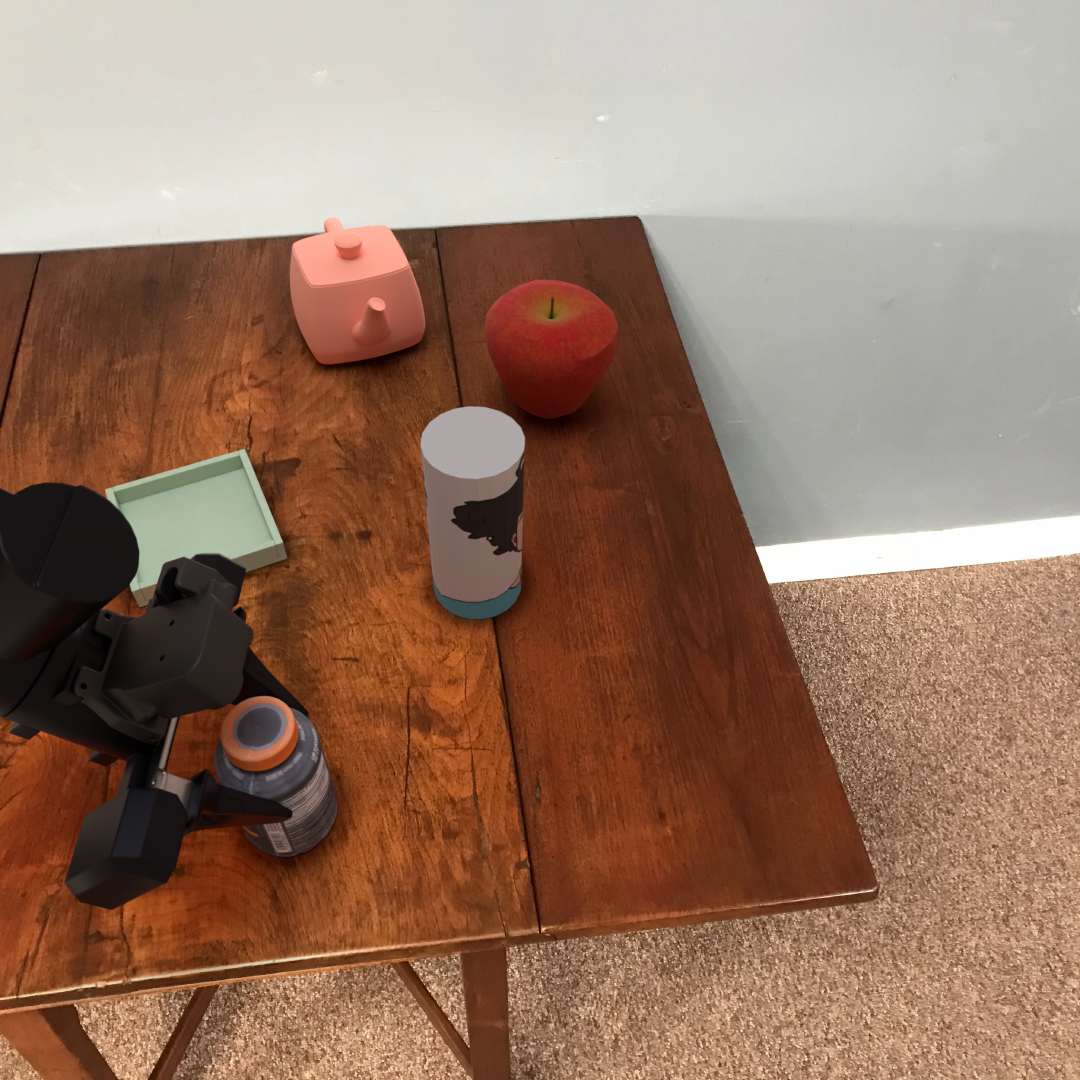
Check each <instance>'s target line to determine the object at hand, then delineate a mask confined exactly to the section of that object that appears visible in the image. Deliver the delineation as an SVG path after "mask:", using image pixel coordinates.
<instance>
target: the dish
mask: <svg viewBox="0 0 1080 1080" xmlns="http://www.w3.org/2000/svg"><path fill="white" fill-rule="evenodd" d="M104 493H105V496H106V497H105V498H107V499H108V500H110V501H111V502H112V503H113V504H114V505H115V506H116V507H117V508H118V509H119V510H120V511H121V512H122V513H123V515H124V516H125V518H126V519H127V520H128V522H129V523H130V524H131V527H132V529H133V531H134V533H135V535H136V538H137V542H138V547H139V552H140V553H139V567H138V570H137V573H136V576H135V577H134V579H133V580H132V582H131V583H130V585H129V587H130V592H131V593H132V595H133V597H134V599H135V601H136V603H137V605H138V607H139V608H143V607H145V606H146V607H147V605H148V602H149V599H152V598H153V595H154V592H155V588H156V585H157V582H158V579H159V575H160V572H161V569H162V566H163V564H164V563H165V562H168V561H171V560H175V559H178V558H181V557H186V558H189V559H191V558H192V557H193V556H194V555H196V554H201V553H220V554H222V555H223V556H225V557H227V558H229V559H231V560H233V561H235V562H237V563H239V564H241V565H243V566H244V567H245V568H246V572H245V573H248V572H251V571H254V570H258V569H261V568H263V567H266V566H268V565H269V566H270V565H272V564H276V563H279V562H282V561H285V560H287V559H288V556H287V551H286V547H285V544H284V541H283V539H282V536H281V534H280V531H279V529H278V526H277V524H276V522H275V519H274V517H273V514H272V511H271V509H270V507H269V505H268V502H267V500H266V497H265V495H264V492H263V490H262V487H261V485H260V482H259V480H258V478H257V475H256V472H255V470H254V467H253V465H252V463H251V461H250V457H249V455H248V453H247V451H246V448H243V449H239V450H236V451H232V452H229V453H225V454H222V455H217V456H215V457H211V458H208V459H204V460H201V461H198V462H194V463H191V464H188V465H184V466H181V467H177V468H174V469H170V470H167V471H163V472H159V473H156V474H154V475H149V476H146V477H141V478H139V479H136V480H135V479H134V480H132V481H129V482H125V483H121V484H119V485H115V486H112V487H109V488H105V489H104Z"/></svg>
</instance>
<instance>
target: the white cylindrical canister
mask: <svg viewBox="0 0 1080 1080" xmlns="http://www.w3.org/2000/svg"><path fill="white" fill-rule="evenodd" d="M525 449H526V437H525V435H524V432H523V430H522V427H521V426H520V425H519V424H518V422H516V421H515V419H513V417H511V416H510V415H508V414H505V413H504V412H502V411H501V410H496V409H494V408H489V407H486V406H470V405H469V406H468V405H467V406H464V407H463V406H462V407H457V408H453V409H450V410H448V411H445V412H443V413H441V414H439V415H438V416H436V417H435V418H434V419H432V420H431V421H429V422H428V424H427V425H426V427H425V428H424V430H423V432H422V434H421V439H420V455H421V466H422V476H423V487H424V488H423V489H424V498H425V509H426V521H427V531H428V544H429V554H430V564H431V576H432V586H433V587H432V588H433V590H434V594H435V597H436V600H437V601H438V603H440V605H441V606H442V607H443V608H444V610H446V611H448V612H449V613H451V614H452V615H453V616H457V617H461V618H464V619H467V620H485V619H489V618H495V617H496V616H498V615H501V614H503V613H504V612H507V611H508V609H510V608H511V607H512V606H513V605H514V604H515V603H516V602H517V600H518V598H519V596H520V593H521V592H522V591H521V590H522V571H523V570H522V569H523V567H522V565H523V532H524V531H523V529H524V528H523V527H524V526H523V525H524V489H525V453H526V452H525Z"/></svg>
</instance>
